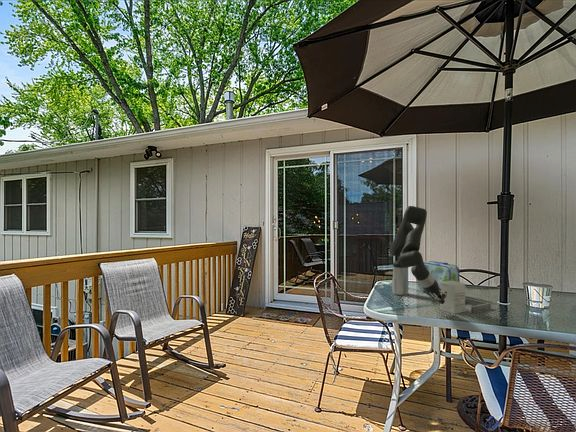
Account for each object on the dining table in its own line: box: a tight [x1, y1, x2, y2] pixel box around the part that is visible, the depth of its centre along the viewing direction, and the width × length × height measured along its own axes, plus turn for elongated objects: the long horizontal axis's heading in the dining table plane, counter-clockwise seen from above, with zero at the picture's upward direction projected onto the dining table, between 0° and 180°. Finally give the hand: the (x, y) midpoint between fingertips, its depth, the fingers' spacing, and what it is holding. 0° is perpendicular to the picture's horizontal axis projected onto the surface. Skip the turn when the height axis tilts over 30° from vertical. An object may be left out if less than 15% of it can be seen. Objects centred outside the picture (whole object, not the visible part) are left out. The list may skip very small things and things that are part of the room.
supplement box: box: [439, 281, 466, 314], centre depth 181 cm, size 9×9×15 cm
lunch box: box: [418, 260, 461, 292], centre depth 220 cm, size 26×11×21 cm, turn 25°
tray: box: [465, 297, 492, 314], centre depth 188 cm, size 16×16×3 cm
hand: (442, 302), depth 177 cm, fingers closed
